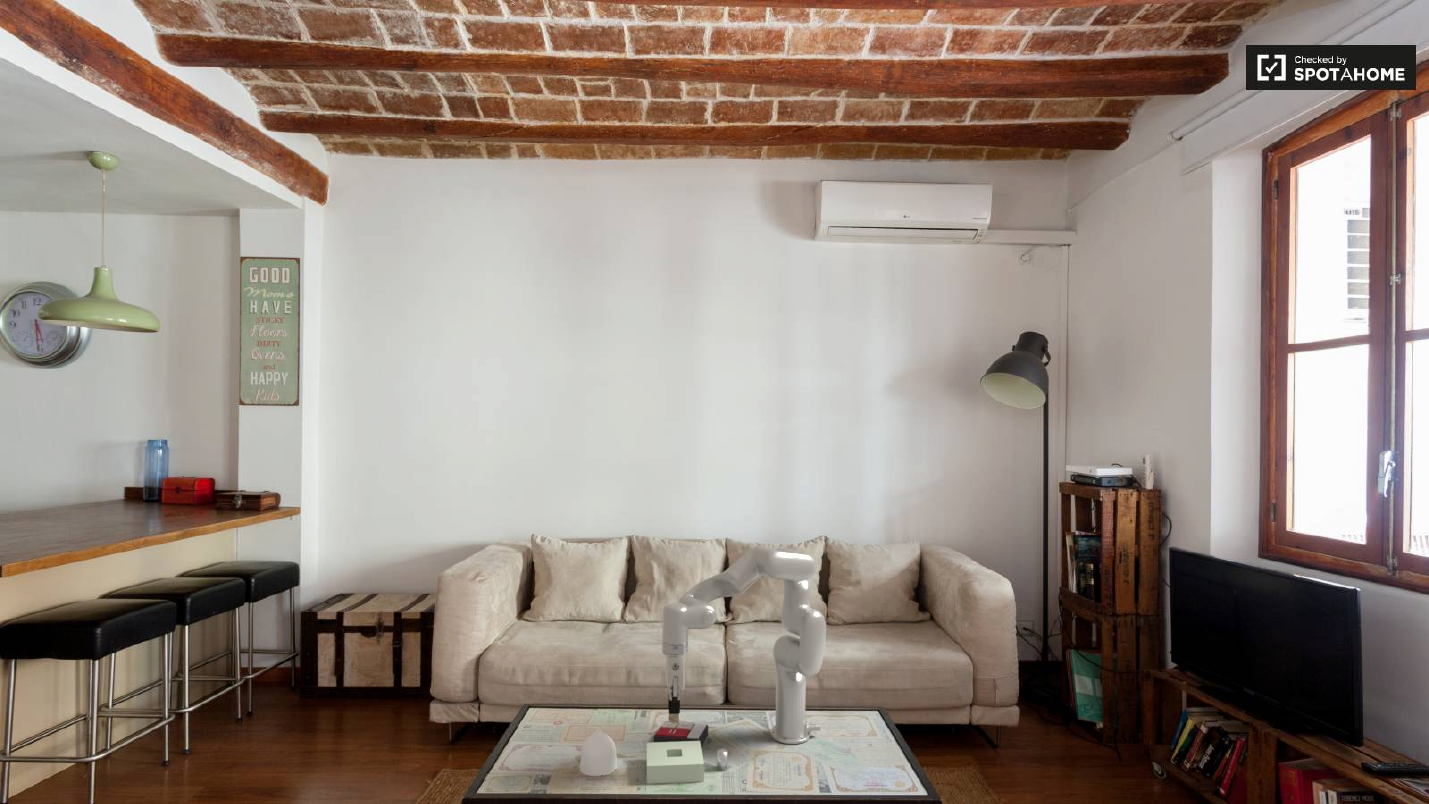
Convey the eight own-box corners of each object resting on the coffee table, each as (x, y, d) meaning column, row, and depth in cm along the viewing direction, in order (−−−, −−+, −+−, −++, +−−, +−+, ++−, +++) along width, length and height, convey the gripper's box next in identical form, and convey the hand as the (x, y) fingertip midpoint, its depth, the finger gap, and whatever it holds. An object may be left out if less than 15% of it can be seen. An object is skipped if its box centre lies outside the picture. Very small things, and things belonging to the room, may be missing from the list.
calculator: (664, 719, 239) (708, 722, 235) (664, 732, 239) (709, 735, 235) (653, 734, 228) (699, 737, 224) (653, 747, 228) (699, 751, 224)
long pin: (678, 718, 214) (679, 681, 214) (679, 723, 211) (679, 685, 211) (668, 719, 213) (669, 681, 213) (668, 723, 210) (669, 685, 210)
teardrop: (576, 761, 217) (576, 720, 217) (612, 755, 221) (613, 715, 221) (583, 779, 207) (583, 736, 207) (621, 772, 211) (621, 731, 211)
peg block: (699, 757, 220) (700, 740, 220) (703, 781, 206) (703, 763, 206) (646, 759, 218) (646, 742, 218) (646, 784, 204) (646, 766, 204)
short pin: (726, 765, 215) (726, 748, 215) (727, 770, 212) (728, 753, 212) (716, 766, 215) (716, 749, 215) (717, 771, 212) (717, 754, 212)
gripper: (689, 656, 204) (688, 722, 204) (686, 638, 220) (685, 699, 220) (662, 657, 204) (661, 723, 203) (661, 638, 220) (660, 699, 220)
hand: (673, 710), depth 212 cm, fingers closed on long pin, 3 cm apart
